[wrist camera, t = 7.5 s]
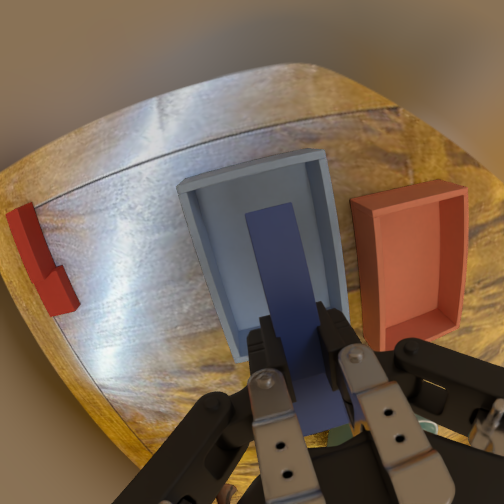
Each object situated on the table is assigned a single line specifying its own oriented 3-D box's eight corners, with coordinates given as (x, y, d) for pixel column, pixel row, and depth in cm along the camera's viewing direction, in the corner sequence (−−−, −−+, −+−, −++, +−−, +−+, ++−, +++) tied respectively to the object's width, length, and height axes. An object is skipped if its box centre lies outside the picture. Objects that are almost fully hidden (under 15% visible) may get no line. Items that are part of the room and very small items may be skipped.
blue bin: (184, 178, 24) (175, 186, 19) (307, 147, 23) (324, 149, 19) (233, 334, 29) (235, 363, 25) (335, 307, 29) (351, 332, 25)
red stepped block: (14, 210, 23) (-1, 217, 20) (38, 198, 23) (23, 204, 20) (55, 310, 27) (45, 323, 24) (80, 304, 27) (70, 317, 24)
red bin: (349, 198, 25) (372, 210, 21) (438, 179, 25) (467, 187, 21) (363, 337, 31) (379, 362, 26) (438, 308, 30) (459, 328, 26)
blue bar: (225, 221, 14) (220, 219, 11) (302, 202, 14) (314, 196, 11) (281, 427, 14) (286, 456, 12) (344, 409, 14) (359, 435, 12)
